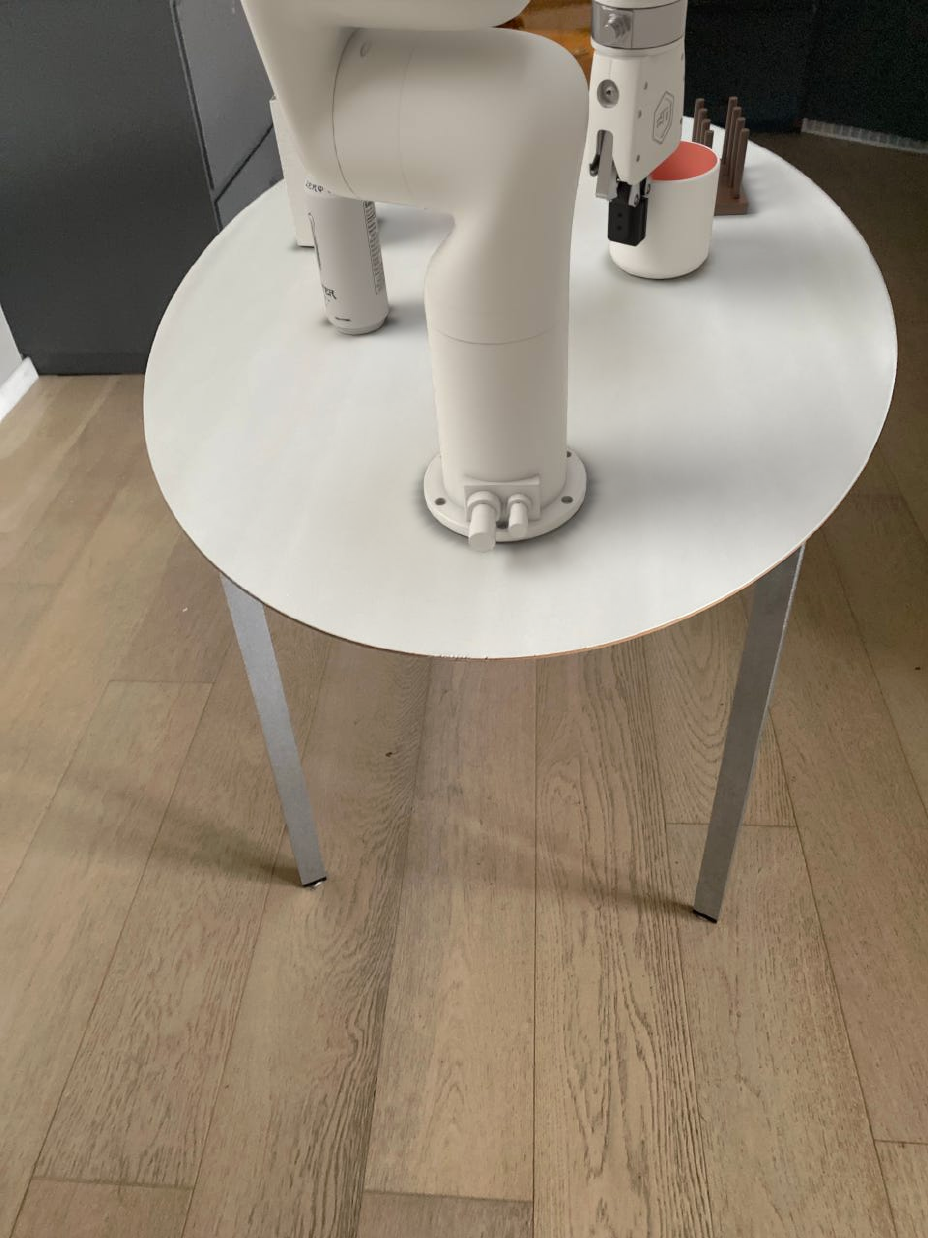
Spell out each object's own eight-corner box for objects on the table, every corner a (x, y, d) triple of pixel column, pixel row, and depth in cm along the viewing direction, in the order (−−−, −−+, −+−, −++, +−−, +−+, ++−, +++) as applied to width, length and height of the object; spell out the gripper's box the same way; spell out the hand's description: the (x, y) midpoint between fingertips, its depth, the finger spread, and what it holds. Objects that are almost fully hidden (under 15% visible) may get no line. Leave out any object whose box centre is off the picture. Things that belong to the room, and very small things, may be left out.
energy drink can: (329, 309, 95) (300, 154, 84) (388, 302, 95) (367, 146, 84) (329, 340, 91) (298, 182, 80) (391, 333, 91) (369, 174, 80)
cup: (595, 275, 96) (598, 174, 89) (626, 231, 102) (632, 134, 95) (691, 290, 93) (704, 187, 86) (718, 245, 99) (732, 144, 92)
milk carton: (377, 220, 108) (352, 31, 94) (358, 250, 103) (329, 56, 90) (318, 218, 109) (285, 31, 96) (297, 247, 105) (259, 55, 91)
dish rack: (747, 213, 103) (759, 134, 97) (690, 215, 104) (699, 137, 98) (732, 168, 111) (742, 92, 105) (680, 170, 112) (687, 94, 106)
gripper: (637, 58, 71) (625, 286, 84) (720, -5, 78) (696, 213, 92) (550, 45, 74) (551, 267, 87) (638, -13, 81) (627, 199, 95)
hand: (626, 239), depth 90 cm, fingers closed
